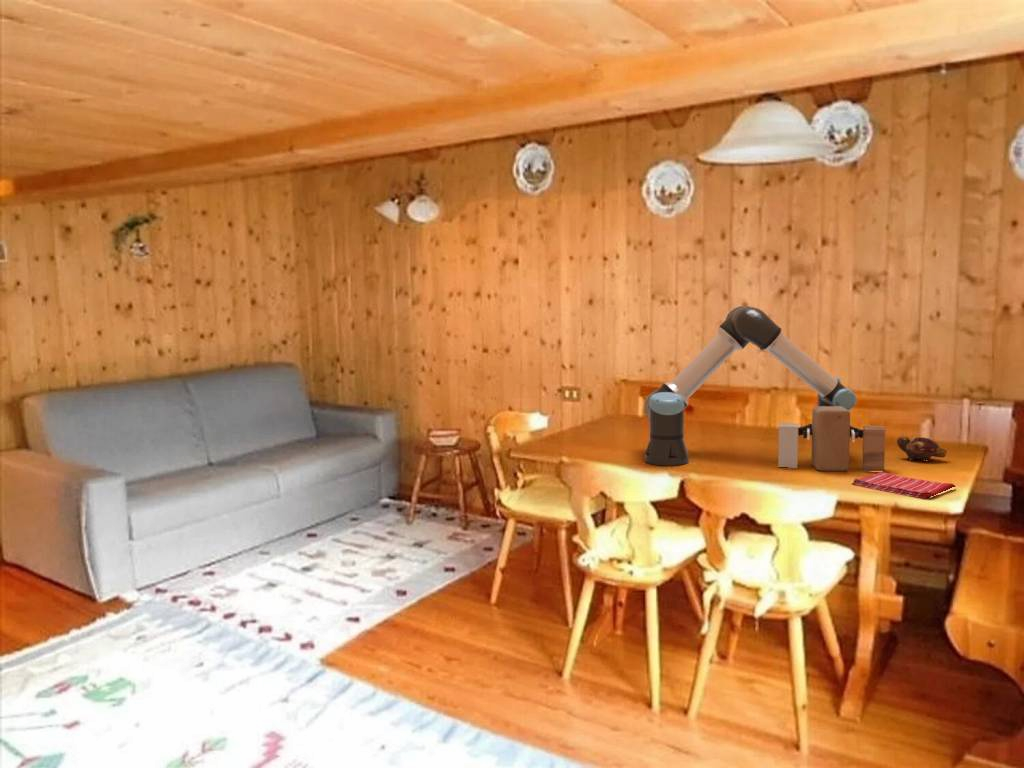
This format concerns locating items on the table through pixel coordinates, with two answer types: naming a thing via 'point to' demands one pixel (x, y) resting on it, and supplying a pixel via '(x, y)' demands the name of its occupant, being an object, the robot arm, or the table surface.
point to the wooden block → (830, 438)
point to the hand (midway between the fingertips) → (830, 437)
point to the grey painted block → (788, 445)
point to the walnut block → (873, 448)
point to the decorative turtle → (920, 448)
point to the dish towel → (903, 485)
